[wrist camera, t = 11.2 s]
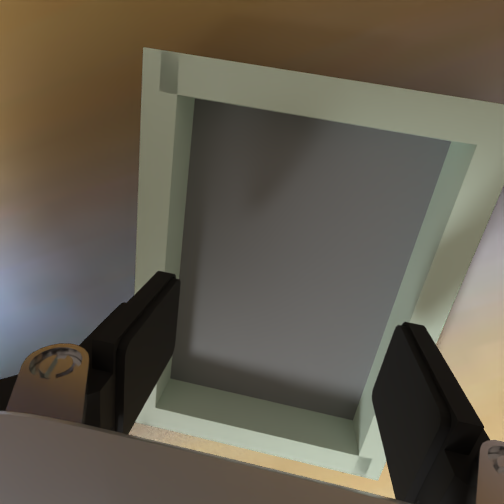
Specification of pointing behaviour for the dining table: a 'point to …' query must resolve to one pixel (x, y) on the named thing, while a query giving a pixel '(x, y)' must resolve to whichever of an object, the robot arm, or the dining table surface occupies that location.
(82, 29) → the dining table surface
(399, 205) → the serving tray
